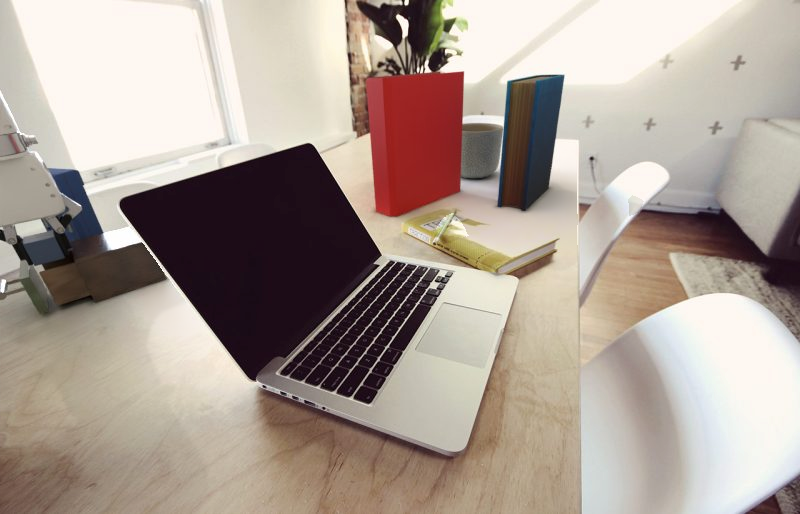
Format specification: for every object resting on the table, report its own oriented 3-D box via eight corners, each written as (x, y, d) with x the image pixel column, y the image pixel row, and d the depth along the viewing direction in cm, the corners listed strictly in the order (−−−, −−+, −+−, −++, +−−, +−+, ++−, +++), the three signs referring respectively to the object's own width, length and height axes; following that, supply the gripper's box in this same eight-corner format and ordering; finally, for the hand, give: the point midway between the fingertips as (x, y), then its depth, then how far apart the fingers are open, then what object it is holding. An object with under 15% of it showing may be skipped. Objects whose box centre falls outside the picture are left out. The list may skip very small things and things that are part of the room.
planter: (438, 173, 131) (438, 126, 124) (477, 165, 138) (479, 121, 131) (468, 185, 118) (470, 133, 111) (510, 176, 125) (514, 127, 118)
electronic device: (63, 269, 78) (13, 173, 69) (87, 258, 83) (44, 166, 73) (97, 274, 76) (50, 175, 67) (120, 262, 80) (80, 168, 71)
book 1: (439, 186, 118) (440, 71, 103) (460, 191, 113) (464, 71, 98) (373, 210, 102) (362, 78, 87) (393, 217, 96) (386, 78, 82)
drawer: (7, 324, 60) (-16, 289, 57) (9, 301, 67) (-11, 267, 64) (114, 290, 69) (99, 257, 65) (107, 272, 75) (93, 241, 72)
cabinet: (95, 302, 67) (74, 260, 63) (88, 281, 74) (69, 241, 70) (166, 278, 73) (151, 239, 69) (154, 261, 80) (140, 224, 76)
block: (34, 266, 62) (22, 244, 60) (34, 258, 65) (22, 236, 63) (65, 258, 65) (54, 236, 63) (63, 250, 67) (53, 229, 65)
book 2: (522, 182, 119) (533, 74, 105) (551, 185, 114) (567, 73, 100) (492, 206, 101) (500, 80, 87) (525, 211, 97) (540, 80, 83)
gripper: (62, 136, 64) (105, 236, 72) (-87, 154, 54) (-17, 267, 63) (65, 142, 59) (111, 249, 67) (-99, 162, 49) (-21, 284, 57)
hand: (48, 256), depth 65 cm, fingers closed on block, 4 cm apart
